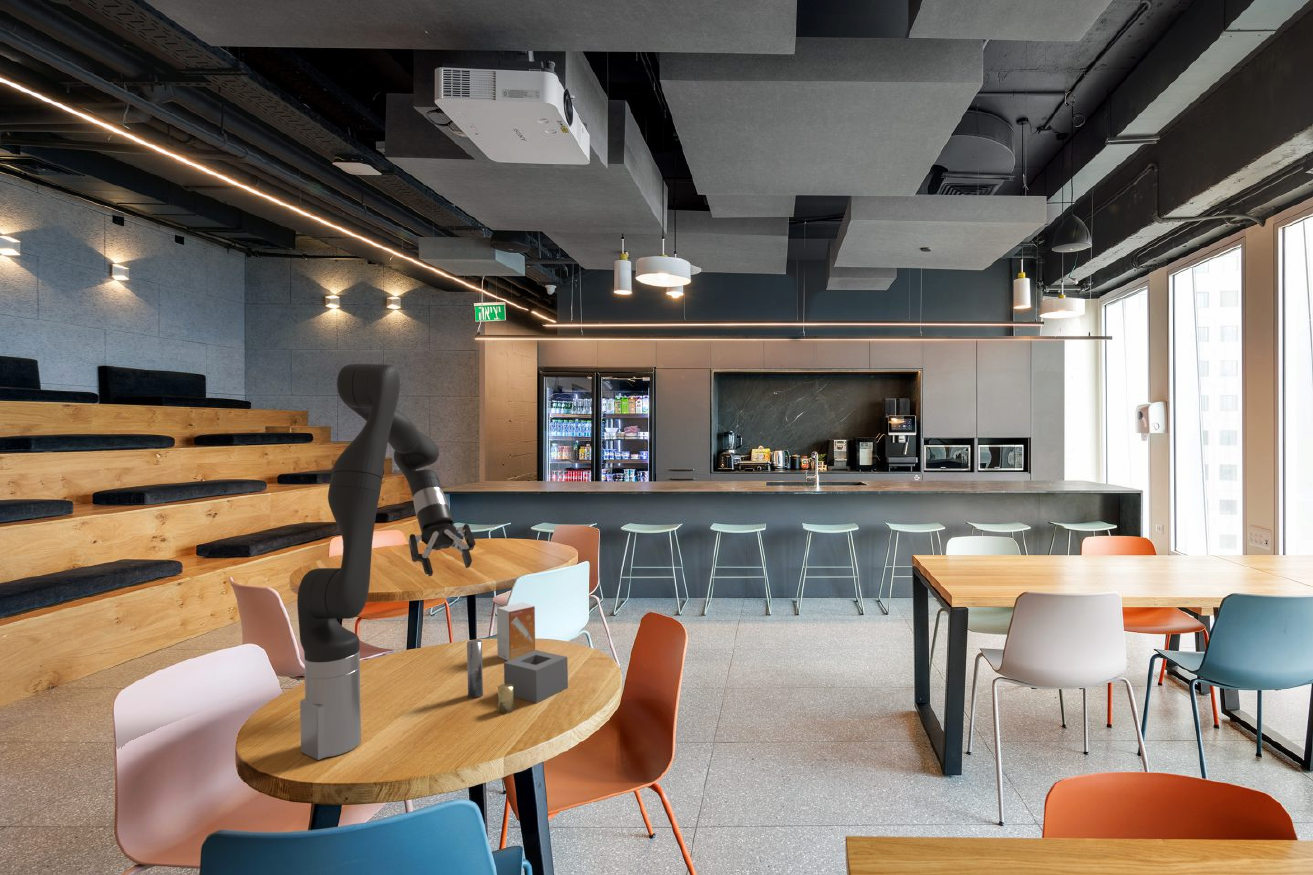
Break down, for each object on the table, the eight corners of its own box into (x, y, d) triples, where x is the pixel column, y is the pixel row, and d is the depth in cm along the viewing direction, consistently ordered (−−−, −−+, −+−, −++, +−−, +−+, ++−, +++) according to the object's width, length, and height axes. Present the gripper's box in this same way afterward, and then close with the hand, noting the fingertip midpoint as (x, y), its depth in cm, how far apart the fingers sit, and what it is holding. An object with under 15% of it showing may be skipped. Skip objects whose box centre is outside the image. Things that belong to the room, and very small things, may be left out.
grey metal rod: (474, 699, 138) (473, 644, 138) (464, 696, 140) (463, 642, 140) (485, 694, 141) (484, 640, 141) (476, 691, 143) (475, 638, 143)
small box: (509, 662, 162) (508, 611, 162) (497, 656, 167) (496, 607, 167) (536, 654, 168) (535, 605, 168) (523, 649, 172) (522, 601, 172)
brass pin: (505, 714, 130) (505, 690, 130) (495, 711, 132) (494, 687, 132) (517, 709, 133) (516, 685, 133) (506, 706, 134) (506, 682, 134)
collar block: (536, 702, 135) (536, 670, 136) (504, 693, 141) (503, 662, 141) (568, 687, 144) (567, 656, 144) (536, 679, 149) (535, 649, 149)
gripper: (403, 507, 145) (420, 570, 138) (464, 497, 153) (483, 556, 146) (399, 523, 150) (415, 584, 143) (459, 512, 158) (477, 570, 151)
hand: (450, 570), depth 144 cm, fingers open, 8 cm apart
